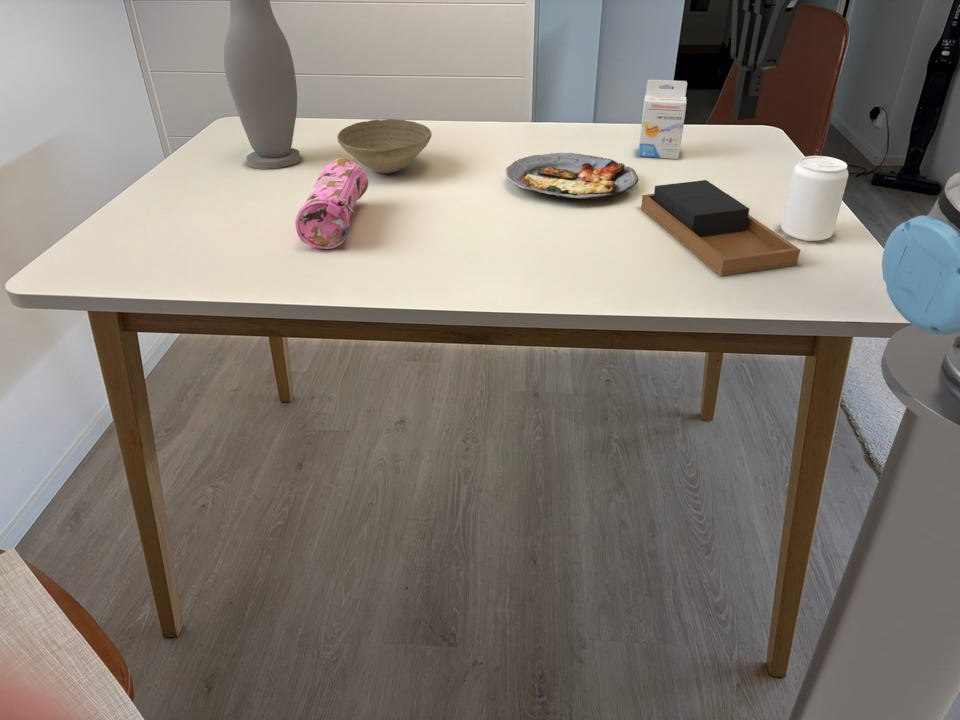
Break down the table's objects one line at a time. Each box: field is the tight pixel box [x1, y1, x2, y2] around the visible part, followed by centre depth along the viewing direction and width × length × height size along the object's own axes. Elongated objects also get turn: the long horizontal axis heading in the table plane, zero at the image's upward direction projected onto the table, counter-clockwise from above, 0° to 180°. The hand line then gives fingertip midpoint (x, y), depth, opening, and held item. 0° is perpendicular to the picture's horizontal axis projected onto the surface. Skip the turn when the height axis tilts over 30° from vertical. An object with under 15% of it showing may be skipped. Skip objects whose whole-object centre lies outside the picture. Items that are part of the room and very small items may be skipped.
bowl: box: [336, 118, 432, 174], centre depth 151 cm, size 18×18×8 cm
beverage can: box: [780, 155, 849, 242], centre depth 122 cm, size 8×8×12 cm
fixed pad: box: [653, 179, 727, 215], centre depth 131 cm, size 7×10×4 cm
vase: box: [223, 0, 301, 170], centre depth 150 cm, size 13×13×35 cm
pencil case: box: [294, 157, 369, 250], centre depth 128 cm, size 21×9×9 cm, turn 179°
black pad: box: [672, 193, 750, 237], centre depth 126 cm, size 7×10×4 cm
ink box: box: [638, 79, 688, 160], centre depth 156 cm, size 8×5×15 cm, turn 78°
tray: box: [640, 193, 801, 277], centre depth 125 cm, size 28×13×3 cm, turn 15°
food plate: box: [505, 152, 639, 200], centre depth 145 cm, size 25×23×4 cm
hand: (743, 117), depth 104 cm, fingers closed
